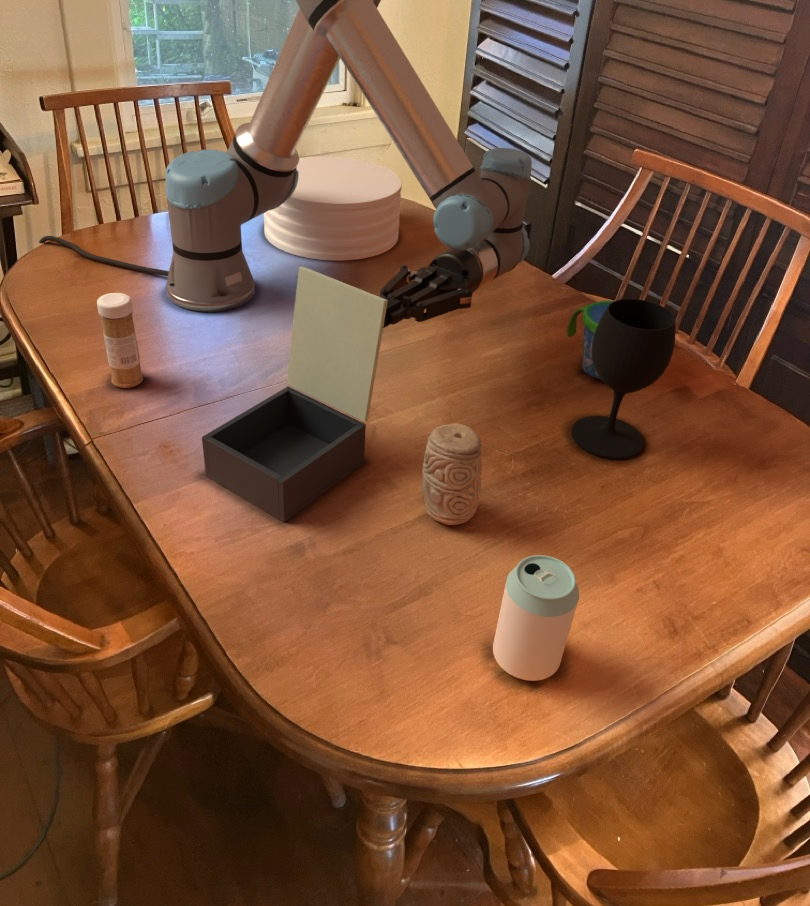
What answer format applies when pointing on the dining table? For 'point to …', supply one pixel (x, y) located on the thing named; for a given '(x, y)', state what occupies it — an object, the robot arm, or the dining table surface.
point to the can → (535, 617)
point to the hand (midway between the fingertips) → (367, 324)
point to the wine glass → (625, 371)
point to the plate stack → (338, 210)
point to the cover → (335, 342)
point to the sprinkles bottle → (120, 339)
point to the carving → (452, 473)
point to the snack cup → (588, 332)
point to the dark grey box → (284, 452)
